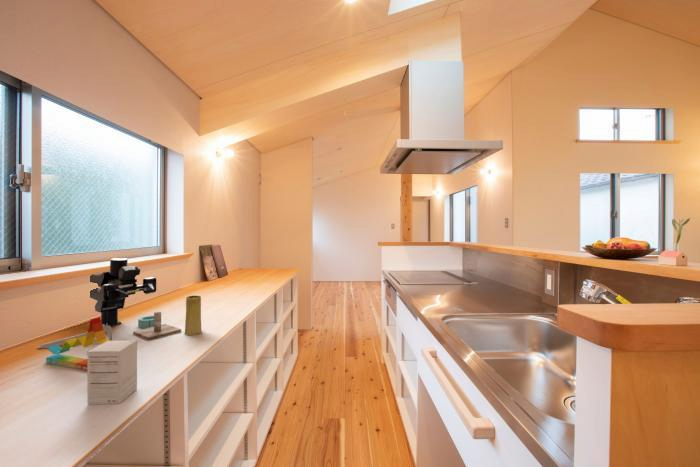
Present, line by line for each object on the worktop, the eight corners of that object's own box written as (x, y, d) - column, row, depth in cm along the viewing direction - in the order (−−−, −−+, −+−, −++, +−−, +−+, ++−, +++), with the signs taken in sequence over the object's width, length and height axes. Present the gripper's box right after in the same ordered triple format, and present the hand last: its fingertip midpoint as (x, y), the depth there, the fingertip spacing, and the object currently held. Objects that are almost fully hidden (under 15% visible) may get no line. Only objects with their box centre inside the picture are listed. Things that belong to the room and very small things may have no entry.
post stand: (133, 334, 123) (133, 313, 122) (165, 326, 133) (165, 307, 133) (148, 340, 116) (148, 318, 116) (181, 331, 126) (181, 311, 126)
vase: (205, 331, 127) (205, 295, 127) (193, 336, 121) (193, 298, 121) (193, 329, 129) (193, 294, 129) (180, 334, 123) (181, 297, 123)
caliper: (111, 339, 117) (112, 322, 117) (111, 340, 116) (111, 323, 116) (36, 348, 107) (36, 330, 107) (35, 350, 106) (35, 331, 106)
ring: (135, 325, 133) (135, 318, 133) (153, 321, 139) (153, 314, 139) (144, 328, 129) (144, 321, 129) (162, 324, 135) (162, 317, 135)
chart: (45, 363, 96) (45, 314, 96) (57, 359, 99) (57, 311, 99) (121, 378, 87) (122, 324, 87) (132, 373, 90) (133, 321, 90)
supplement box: (107, 389, 81) (107, 340, 81) (137, 388, 82) (138, 339, 81) (85, 405, 74) (86, 351, 73) (119, 404, 74) (120, 350, 74)
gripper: (93, 268, 120) (113, 276, 112) (146, 262, 136) (166, 268, 128) (93, 297, 121) (113, 306, 113) (145, 288, 137) (166, 295, 129)
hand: (141, 293), depth 121 cm, fingers open, 9 cm apart
